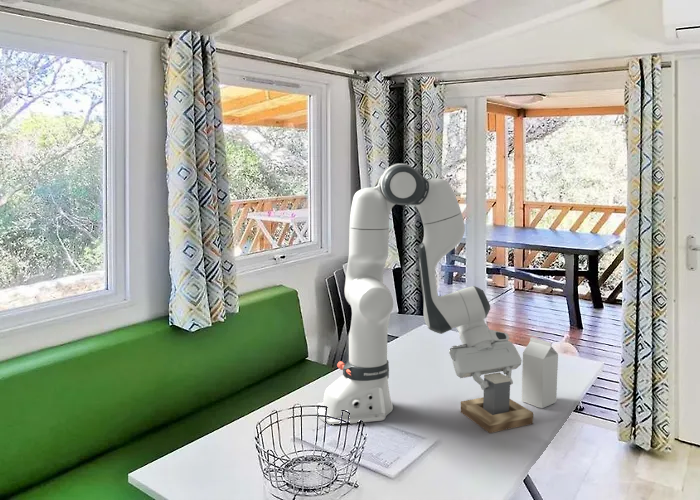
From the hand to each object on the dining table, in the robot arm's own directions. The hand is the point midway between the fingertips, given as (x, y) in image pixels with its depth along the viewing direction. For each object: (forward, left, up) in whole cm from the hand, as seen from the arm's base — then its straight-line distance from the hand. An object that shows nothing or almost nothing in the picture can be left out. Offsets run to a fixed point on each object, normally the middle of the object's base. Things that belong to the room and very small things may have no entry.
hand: (497, 386), depth 157 cm
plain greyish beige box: (0, +1, -7) cm, 7 cm away
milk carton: (+18, +5, -10) cm, 21 cm away
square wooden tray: (0, +1, -9) cm, 9 cm away
